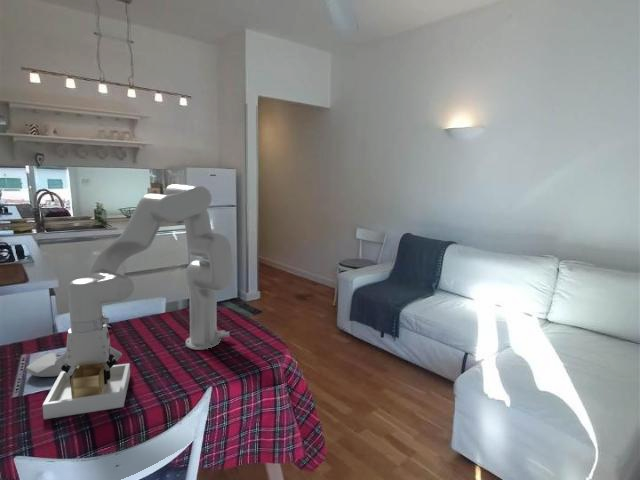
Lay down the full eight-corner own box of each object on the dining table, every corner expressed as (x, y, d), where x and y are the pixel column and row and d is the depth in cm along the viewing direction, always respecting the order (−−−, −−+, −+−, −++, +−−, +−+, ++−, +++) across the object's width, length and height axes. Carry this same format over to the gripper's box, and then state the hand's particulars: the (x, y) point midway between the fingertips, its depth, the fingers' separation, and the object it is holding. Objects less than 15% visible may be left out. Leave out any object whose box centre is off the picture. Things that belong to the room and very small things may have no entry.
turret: (103, 373, 123) (105, 358, 123) (26, 383, 110) (28, 367, 110) (96, 361, 130) (98, 347, 130) (24, 369, 117) (25, 354, 117)
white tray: (130, 375, 118) (129, 363, 117) (123, 406, 102) (122, 393, 102) (62, 384, 112) (61, 371, 111) (43, 419, 96) (42, 404, 95)
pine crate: (108, 375, 113) (107, 357, 112) (102, 396, 103) (100, 376, 102) (81, 379, 110) (79, 360, 109) (71, 400, 100) (70, 380, 99)
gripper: (124, 315, 110) (127, 372, 113) (53, 321, 104) (58, 381, 107) (121, 325, 103) (124, 386, 106) (44, 332, 97) (50, 396, 100)
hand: (91, 383), depth 106 cm, fingers closed on pine crate, 6 cm apart
